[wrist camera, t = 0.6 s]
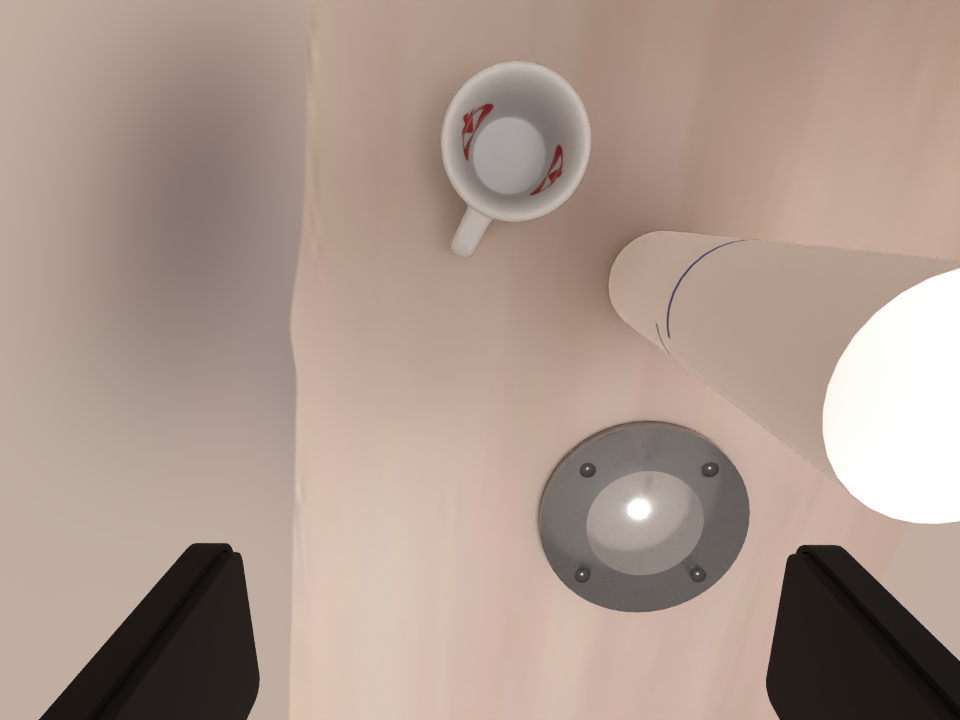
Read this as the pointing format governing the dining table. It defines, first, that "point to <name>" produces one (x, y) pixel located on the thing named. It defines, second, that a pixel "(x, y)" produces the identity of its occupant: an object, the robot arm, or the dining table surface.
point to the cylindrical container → (817, 353)
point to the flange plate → (643, 516)
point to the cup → (513, 146)
